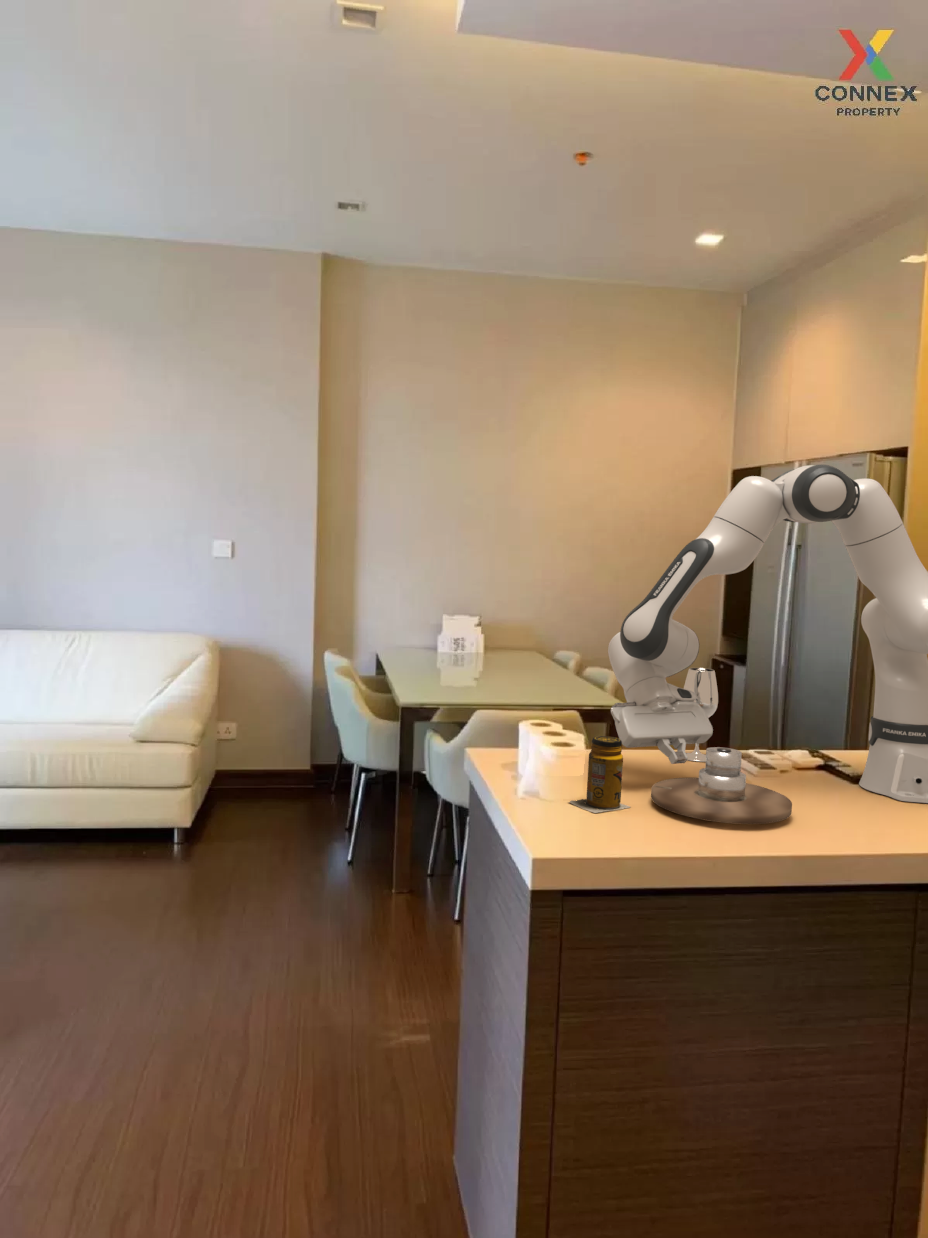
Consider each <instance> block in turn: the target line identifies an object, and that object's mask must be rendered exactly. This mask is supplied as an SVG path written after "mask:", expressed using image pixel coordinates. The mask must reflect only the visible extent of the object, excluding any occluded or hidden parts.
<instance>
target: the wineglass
mask: <svg viewBox="0 0 928 1238" xmlns="http://www.w3.org/2000/svg"><path fill="white" fill-rule="evenodd" d="M684 682H685V683H684V685H683V689H687V690H690V691H692V692H693V693H694V694H695V696H696V699H695V701H694V702H695V703H697V704H699V705H700V706H701V708H702V709H703V710H704V712H705V714H706V716H707V717H708V719H709V718H710V717H711V716H713V715H714V714H715V712H716V711H717V709H718V704H719V692H718V690H719V689H718V685H717V684H718V683H717V677H716V672H715V670H714V669H712V668H704V667H690V668H689V667H688V671H687V674H686V678H685V681H684ZM699 746H700V743H696V744H695V747H694V750H693V751H692V752H685V753H686V755H687V757H688V760H687V761H691V762H695V761H696V763H698V762H699V763H706V753H705V754H704V753H702V752H701V751H700V747H699Z"/></svg>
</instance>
